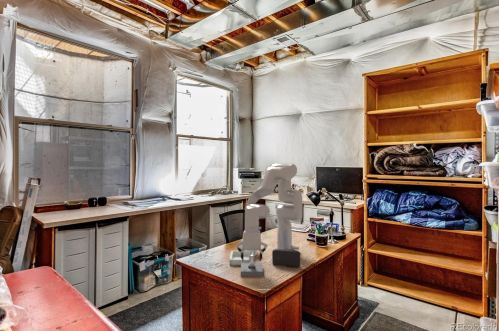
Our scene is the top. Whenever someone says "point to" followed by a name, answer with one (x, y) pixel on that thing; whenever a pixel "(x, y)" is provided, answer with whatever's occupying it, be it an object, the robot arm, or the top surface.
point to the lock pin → (251, 261)
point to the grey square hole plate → (251, 270)
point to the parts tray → (239, 257)
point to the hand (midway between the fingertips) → (251, 260)
